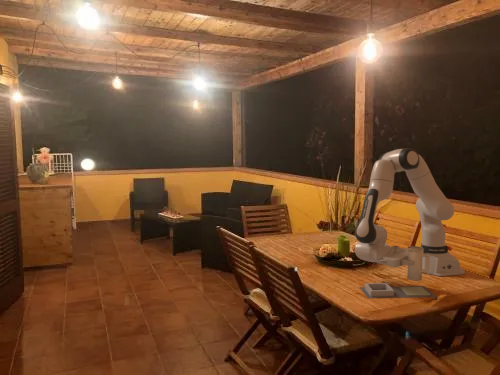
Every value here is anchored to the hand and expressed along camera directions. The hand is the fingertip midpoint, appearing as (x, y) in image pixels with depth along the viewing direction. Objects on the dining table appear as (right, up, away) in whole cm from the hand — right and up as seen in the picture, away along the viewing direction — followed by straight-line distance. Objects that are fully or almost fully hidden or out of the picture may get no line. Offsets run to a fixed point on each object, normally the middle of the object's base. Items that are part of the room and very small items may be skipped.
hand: (417, 261), depth 188 cm
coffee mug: (0, -9, +55) cm, 56 cm away
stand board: (-8, -15, +2) cm, 17 cm away
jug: (0, -8, +1) cm, 8 cm away
